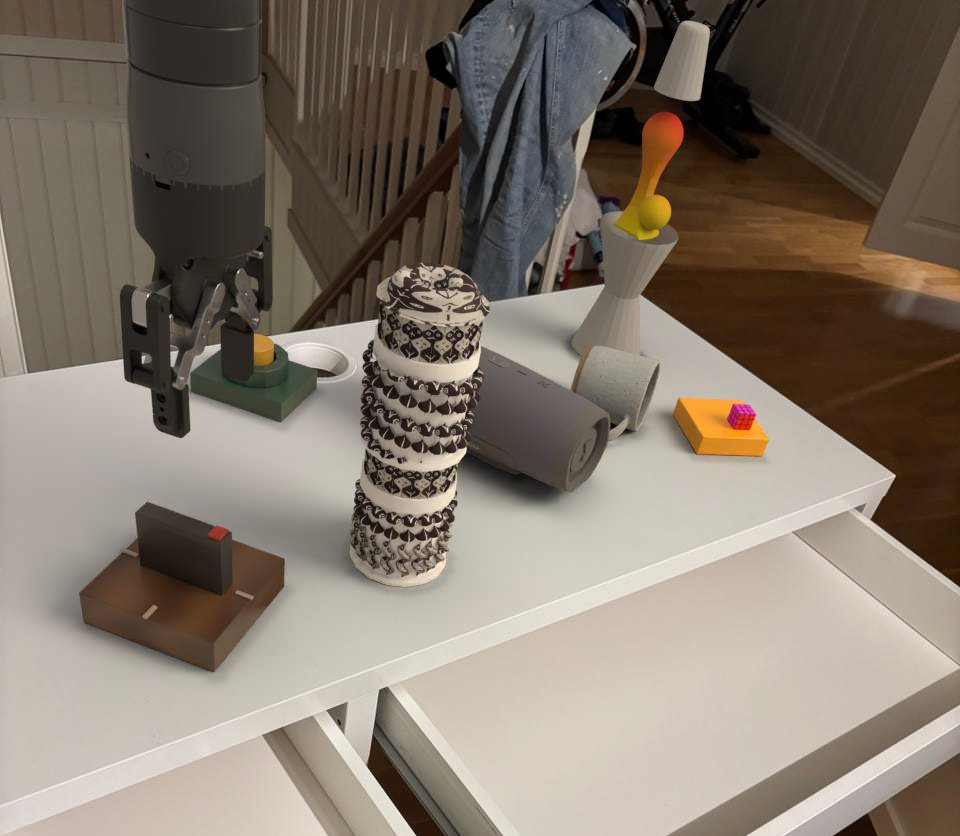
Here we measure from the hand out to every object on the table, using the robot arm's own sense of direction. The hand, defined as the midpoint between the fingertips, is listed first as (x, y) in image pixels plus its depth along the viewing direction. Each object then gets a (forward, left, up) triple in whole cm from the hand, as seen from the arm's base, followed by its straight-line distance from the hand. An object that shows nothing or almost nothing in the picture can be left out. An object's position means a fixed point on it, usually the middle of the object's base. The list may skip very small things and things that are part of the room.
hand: (206, 403), depth 67 cm
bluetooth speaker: (+12, +32, -17) cm, 38 cm away
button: (-12, +29, -13) cm, 34 cm away
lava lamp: (+18, +62, -17) cm, 66 cm away
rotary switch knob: (-1, -2, -14) cm, 14 cm away
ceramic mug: (+22, +45, -17) cm, 53 cm away
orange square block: (+34, +50, -17) cm, 63 cm away
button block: (-12, +29, -17) cm, 35 cm away
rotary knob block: (-1, -2, -17) cm, 17 cm away
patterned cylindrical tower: (+11, +12, -17) cm, 24 cm away
